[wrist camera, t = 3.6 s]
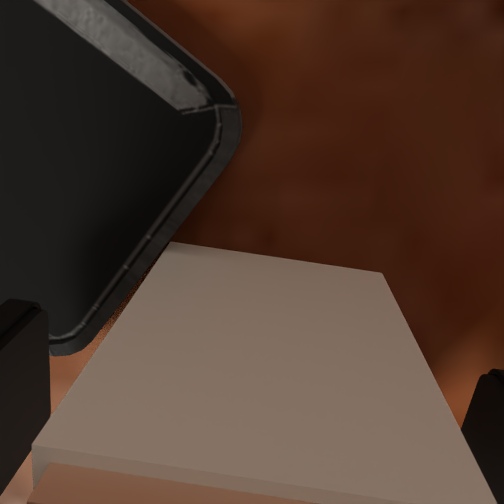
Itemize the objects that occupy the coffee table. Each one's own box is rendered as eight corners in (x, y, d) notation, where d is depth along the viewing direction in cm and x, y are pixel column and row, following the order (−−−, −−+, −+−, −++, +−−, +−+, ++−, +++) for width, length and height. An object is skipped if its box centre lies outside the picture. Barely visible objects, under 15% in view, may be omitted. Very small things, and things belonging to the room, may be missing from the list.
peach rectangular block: (170, 240, 11) (5, 482, 5) (381, 272, 11) (526, 564, 4) (157, 412, 13) (23, 767, 6) (339, 440, 13) (398, 829, 6)
